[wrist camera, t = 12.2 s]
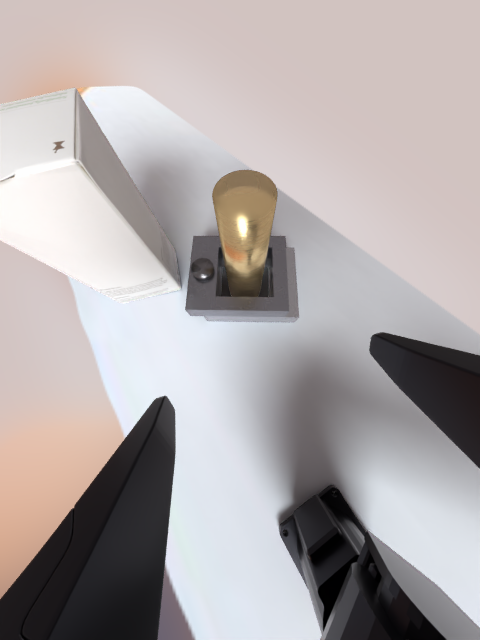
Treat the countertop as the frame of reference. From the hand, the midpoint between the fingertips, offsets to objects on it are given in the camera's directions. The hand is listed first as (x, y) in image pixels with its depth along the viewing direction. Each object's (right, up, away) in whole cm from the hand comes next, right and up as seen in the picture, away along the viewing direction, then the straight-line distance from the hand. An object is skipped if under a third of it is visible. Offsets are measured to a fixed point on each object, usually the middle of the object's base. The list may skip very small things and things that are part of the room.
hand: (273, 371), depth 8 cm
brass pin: (-1, +6, +16) cm, 17 cm away
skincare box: (-13, +8, +17) cm, 23 cm away
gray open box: (-1, +6, +16) cm, 17 cm away
